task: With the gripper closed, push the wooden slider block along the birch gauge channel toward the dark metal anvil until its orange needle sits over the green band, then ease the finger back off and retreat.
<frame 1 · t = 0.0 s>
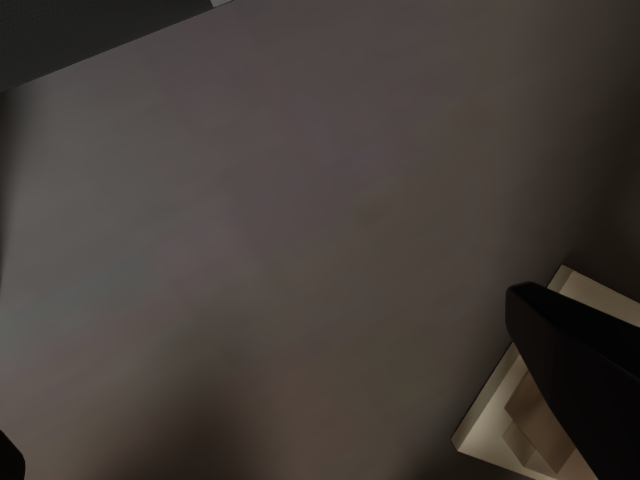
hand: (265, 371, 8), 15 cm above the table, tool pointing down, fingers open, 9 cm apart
wooden slider block: (638, 405, 25), point 4 cm above the table, slide at 0.0 cm
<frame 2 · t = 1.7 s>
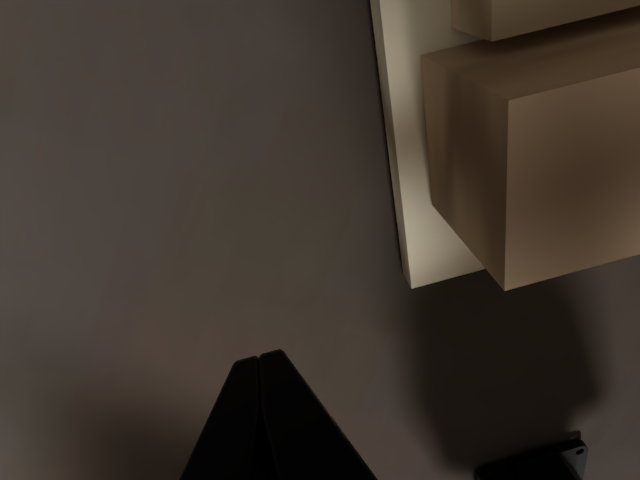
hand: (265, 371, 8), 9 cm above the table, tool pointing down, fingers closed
wooden slider block: (621, 75, 12), point 4 cm above the table, slide at 0.0 cm
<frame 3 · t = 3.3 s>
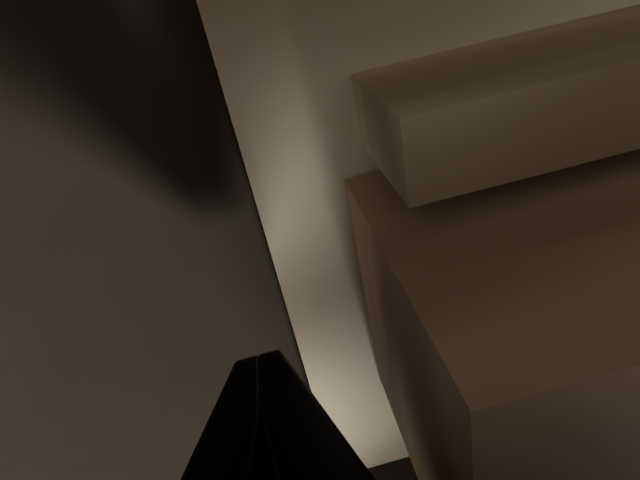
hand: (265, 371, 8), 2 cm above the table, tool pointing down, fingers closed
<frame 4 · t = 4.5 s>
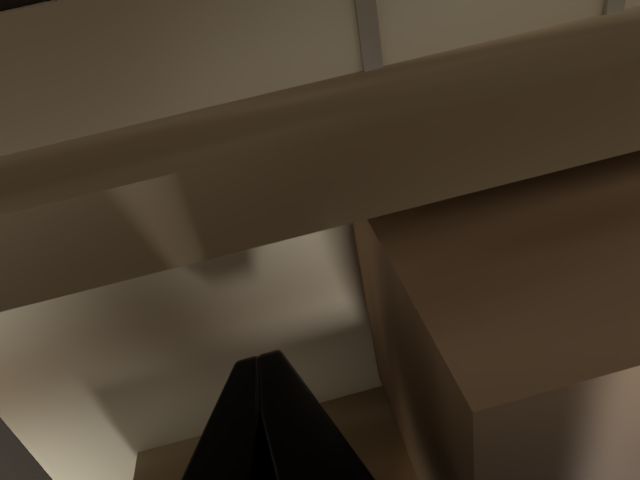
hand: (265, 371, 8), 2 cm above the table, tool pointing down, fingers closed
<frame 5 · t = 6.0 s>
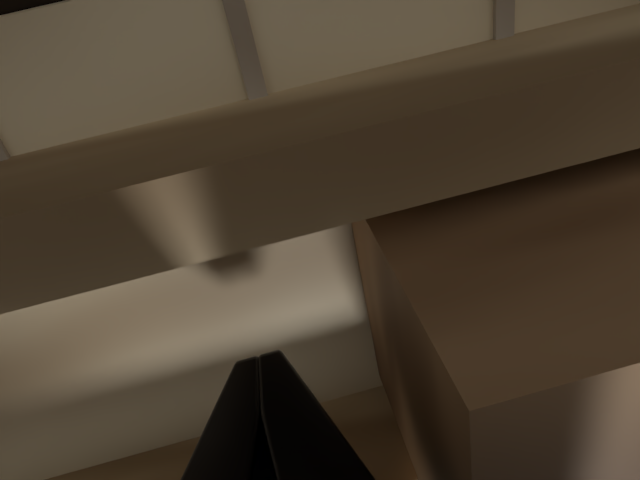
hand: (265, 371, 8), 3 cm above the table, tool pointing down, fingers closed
gauge bed: (413, 244, 11), on the table
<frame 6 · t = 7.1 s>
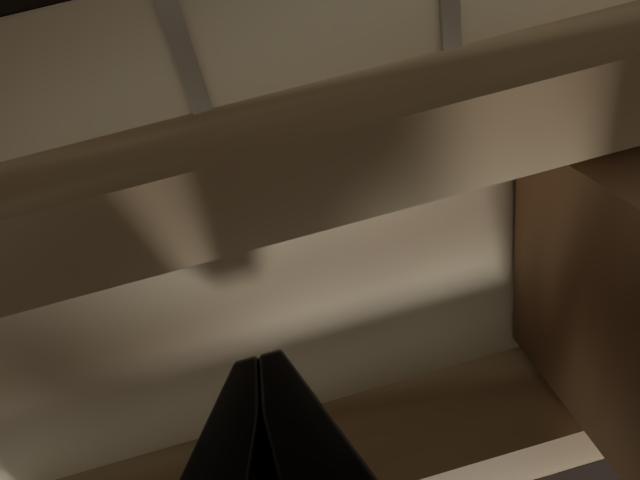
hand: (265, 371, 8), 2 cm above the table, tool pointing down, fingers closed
gauge bed: (548, 207, 11), on the table
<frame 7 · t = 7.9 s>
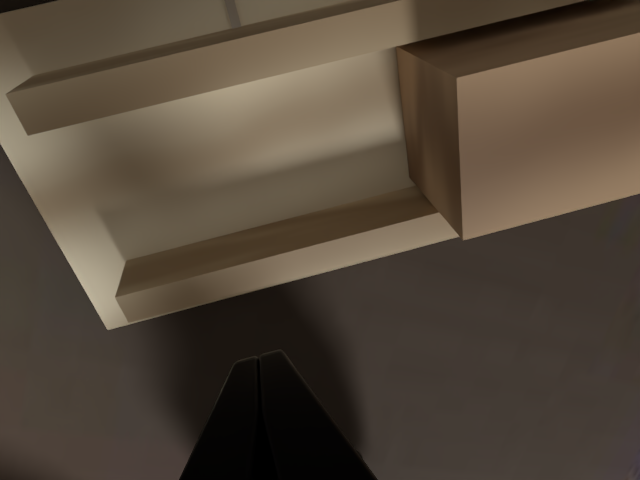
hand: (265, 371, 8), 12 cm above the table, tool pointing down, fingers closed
gauge bed: (428, 99, 19), on the table
wooden slider block: (559, 61, 15), point 4 cm above the table, slide at 12.6 cm
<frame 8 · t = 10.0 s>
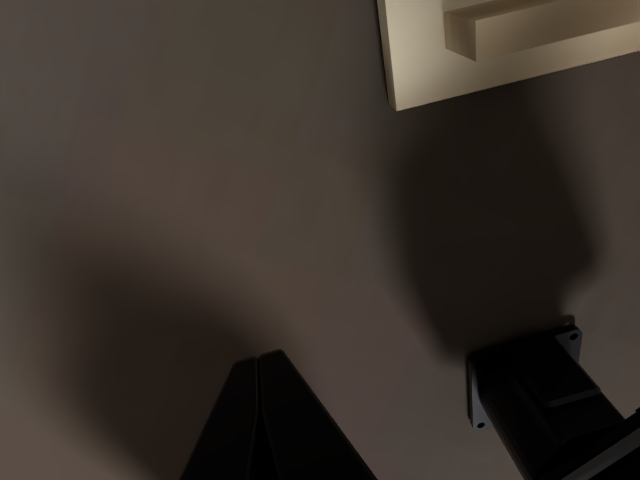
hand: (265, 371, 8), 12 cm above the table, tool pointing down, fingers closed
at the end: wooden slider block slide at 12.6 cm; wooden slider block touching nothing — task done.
